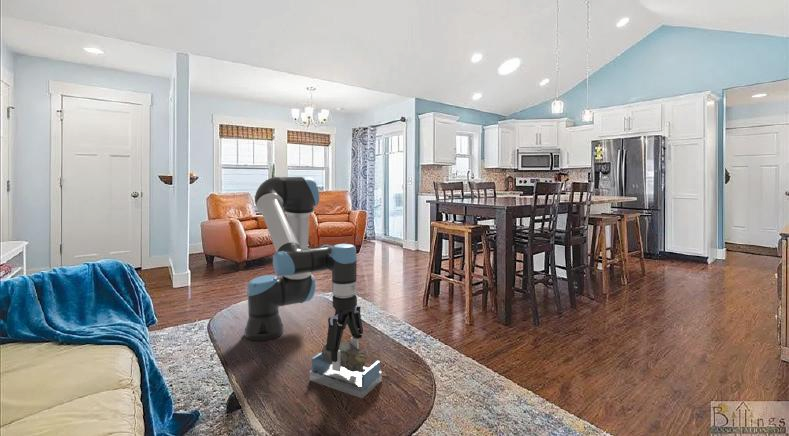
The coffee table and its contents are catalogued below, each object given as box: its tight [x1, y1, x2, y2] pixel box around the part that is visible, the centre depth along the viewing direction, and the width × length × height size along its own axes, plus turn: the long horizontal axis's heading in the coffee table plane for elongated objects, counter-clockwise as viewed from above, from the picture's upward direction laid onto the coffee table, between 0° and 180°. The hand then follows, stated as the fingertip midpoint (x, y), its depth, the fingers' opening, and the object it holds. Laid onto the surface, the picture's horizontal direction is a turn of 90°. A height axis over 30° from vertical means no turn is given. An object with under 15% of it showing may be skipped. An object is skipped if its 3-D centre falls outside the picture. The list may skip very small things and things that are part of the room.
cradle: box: [309, 351, 383, 399], centre depth 122 cm, size 20×11×7 cm, turn 61°
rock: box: [321, 341, 368, 372], centre depth 122 cm, size 17×7×10 cm
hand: (345, 363), depth 121 cm, fingers closed on rock, 9 cm apart
